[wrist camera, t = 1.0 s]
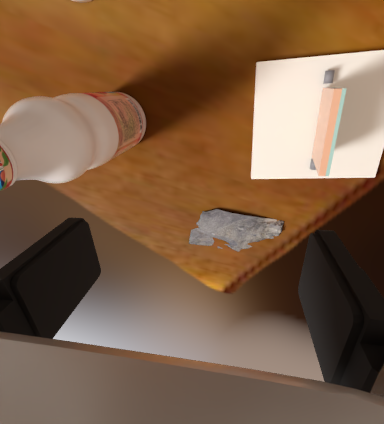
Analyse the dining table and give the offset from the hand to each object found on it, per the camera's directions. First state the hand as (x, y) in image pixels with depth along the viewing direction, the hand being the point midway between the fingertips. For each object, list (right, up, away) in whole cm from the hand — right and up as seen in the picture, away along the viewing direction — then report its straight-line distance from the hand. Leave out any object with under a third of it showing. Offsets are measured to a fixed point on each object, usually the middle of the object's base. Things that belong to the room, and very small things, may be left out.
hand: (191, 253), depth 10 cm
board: (+20, +16, +28) cm, 38 cm away
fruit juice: (-12, +18, +33) cm, 40 cm away
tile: (+18, +13, +22) cm, 31 cm away
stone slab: (+9, -2, +40) cm, 41 cm away
